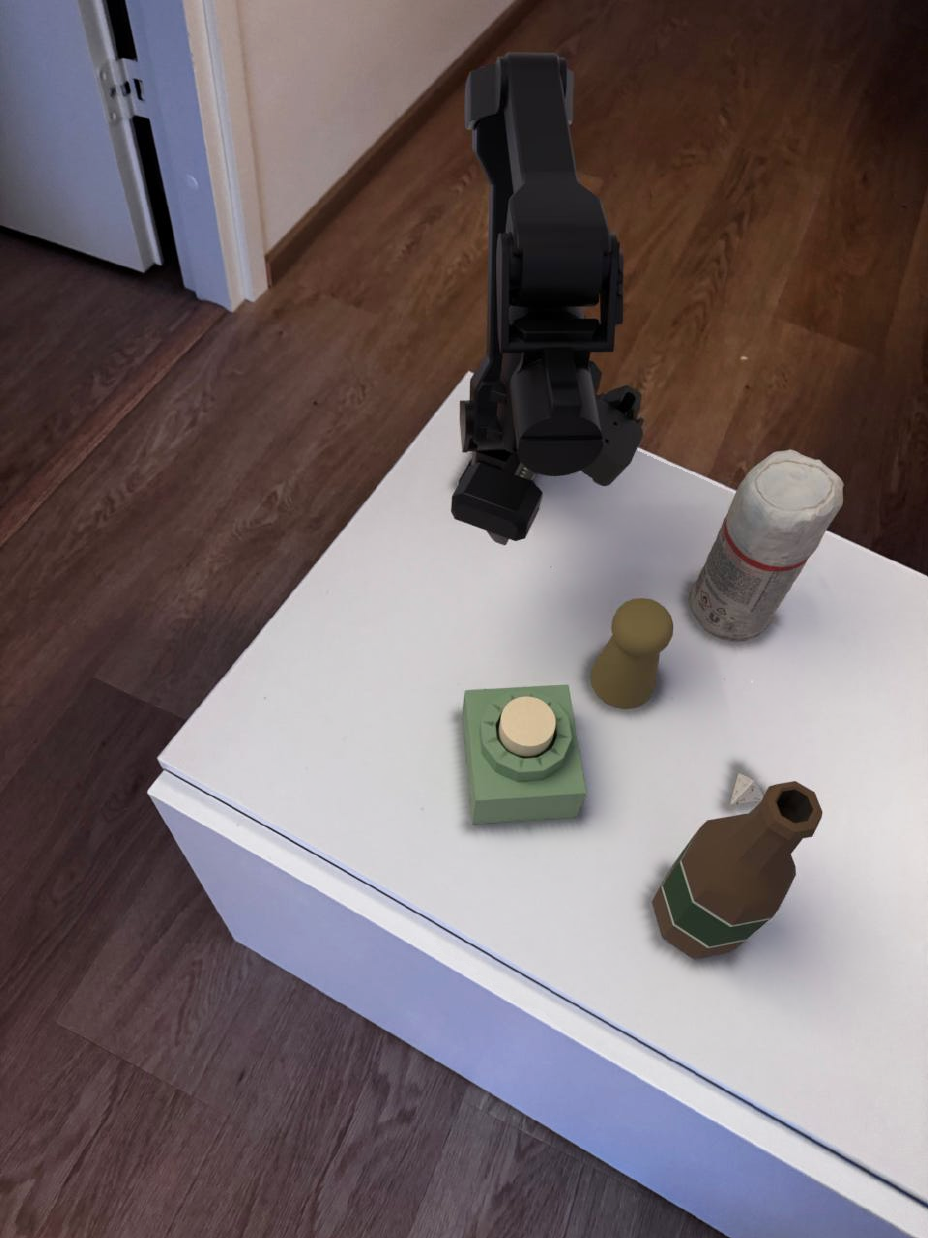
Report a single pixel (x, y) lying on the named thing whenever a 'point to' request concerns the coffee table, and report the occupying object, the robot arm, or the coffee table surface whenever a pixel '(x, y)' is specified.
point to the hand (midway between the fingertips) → (520, 504)
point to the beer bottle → (735, 873)
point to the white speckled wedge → (745, 790)
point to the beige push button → (527, 726)
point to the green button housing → (521, 760)
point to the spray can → (764, 543)
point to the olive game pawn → (632, 653)
